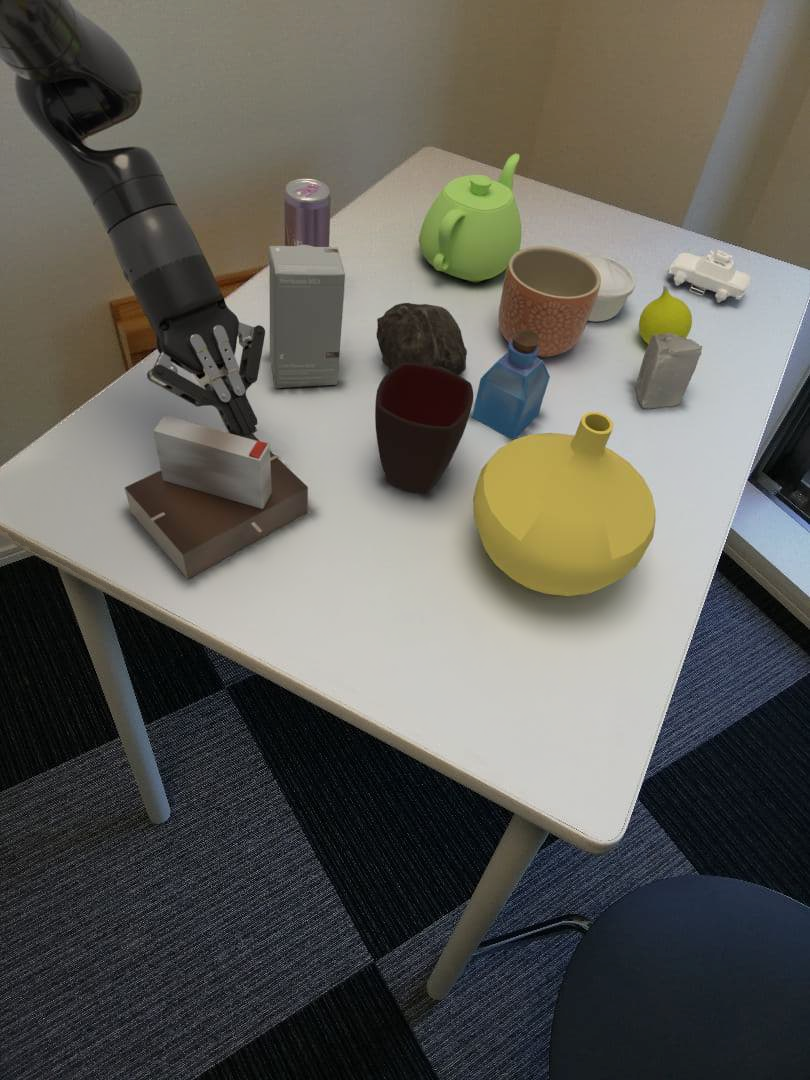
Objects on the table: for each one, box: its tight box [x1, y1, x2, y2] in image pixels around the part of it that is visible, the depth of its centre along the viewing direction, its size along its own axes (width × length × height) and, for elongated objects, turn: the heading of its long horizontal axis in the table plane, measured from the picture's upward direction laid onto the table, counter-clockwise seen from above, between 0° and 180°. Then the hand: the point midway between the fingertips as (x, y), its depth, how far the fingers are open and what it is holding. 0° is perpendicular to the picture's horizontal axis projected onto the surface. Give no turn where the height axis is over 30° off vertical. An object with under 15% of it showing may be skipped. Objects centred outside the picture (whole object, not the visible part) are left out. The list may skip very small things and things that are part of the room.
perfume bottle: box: [471, 329, 551, 441], centre depth 93 cm, size 6×6×12 cm
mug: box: [374, 363, 474, 494], centre depth 86 cm, size 10×14×12 cm
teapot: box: [418, 153, 522, 284], centre depth 115 cm, size 22×15×13 cm
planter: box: [498, 245, 601, 358], centre depth 104 cm, size 12×12×11 cm
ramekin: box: [577, 252, 636, 323], centre depth 113 cm, size 11×11×5 cm
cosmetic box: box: [268, 245, 346, 389], centre depth 93 cm, size 8×7×16 cm
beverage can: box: [283, 178, 332, 247], centre depth 104 cm, size 6×6×15 cm
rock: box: [376, 302, 468, 376], centre depth 98 cm, size 10×11×10 cm
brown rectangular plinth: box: [124, 433, 309, 580], centre depth 81 cm, size 15×15×4 cm
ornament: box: [638, 283, 693, 345], centre depth 107 cm, size 7×7×10 cm
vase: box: [472, 411, 656, 597], centre depth 76 cm, size 18×18×19 cm
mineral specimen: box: [634, 333, 703, 410], centre depth 101 cm, size 7×9×8 cm
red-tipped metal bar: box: [152, 414, 272, 509], centre depth 77 cm, size 11×2×7 cm, turn 74°
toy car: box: [667, 249, 751, 304], centre depth 119 cm, size 6×12×7 cm, turn 60°
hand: (247, 435), depth 77 cm, fingers closed
